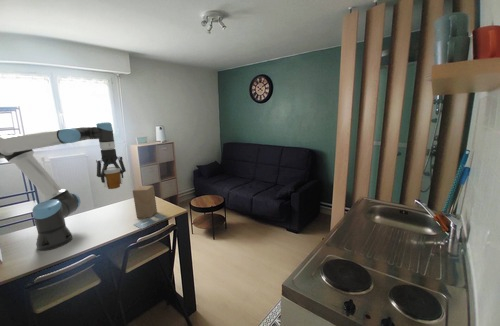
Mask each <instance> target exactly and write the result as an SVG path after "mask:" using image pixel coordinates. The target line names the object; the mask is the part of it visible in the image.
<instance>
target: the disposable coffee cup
mask: <svg viewBox="0 0 500 326" xmlns="http://www.w3.org/2000/svg"><path fill="white" fill-rule="evenodd" d="M120 168H121V167H120ZM120 168H116V167H115V166H112V167H109V166H108V167H107V170H104V173H105V176H104V177H106V181H107V187H108V188H107V189H108V190H115V189H119V188H120V187H121V184H120Z"/></svg>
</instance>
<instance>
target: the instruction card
mask: <svg viewBox="0 0 500 326" xmlns="http://www.w3.org/2000/svg"><path fill="white" fill-rule="evenodd" d="M165 219H168V217H166V216H164V215H162V214H160V213H158V214H154V215H153V216H152V217H150V218H146V219H145V218H144V220H141V221H139V222H136V223H133V226H134V227H136V228H139V229H140V230H143V229H145V228H147V227H149V226H152V225H154V224H155V225H156V224H157V223H159V222H162V221H163V220H165Z"/></svg>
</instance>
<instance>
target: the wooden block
mask: <svg viewBox="0 0 500 326" xmlns="http://www.w3.org/2000/svg"><path fill="white" fill-rule="evenodd" d="M155 193H156V192H155V186H154V185H140V186H138V187H136V188H134V189H133V190H132V195H133V202H134V209H135V215H136V218H137V219H142V218H143V219H145V218H146V219H148V218H150V217H153V216H155V215H156V213H157V212H158V209H157V202H156V194H155Z"/></svg>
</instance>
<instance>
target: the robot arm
mask: <svg viewBox="0 0 500 326" xmlns="http://www.w3.org/2000/svg"><path fill="white" fill-rule="evenodd" d="M113 129H114V128H113V125H112V123H111V122H107V121H106V122H96V125H88V126H87V125H86V126H85V125H81V126H74V127H65V128H62V129H61V128H60V129H54V130H48V131H46V130H45V131H41V132H34V133H28V134H17V133H10V134H3V135H0V159H5V160H6V161H7V163H10V164H14V165H16V166H17V168H18V169H19V170H20V171H21V172H22V173H23V174H24V176H25V177H26V178H28V180H29V181H30V182H31V183H32V185H34V186H35V188H36V189H38V190H39V192H40V193H41V194H42V195H43V196H44V197H45V200H44V201H41V202H39V203H37V204H36V205H34V206H33V208H32V216H33V219H34V223H35V227H36V231H37V238H36V243H35V246H36V249H37V250H38V251H48V250H54V249H57V248H59V247H62V246H64V245H66V244H67V243H69V242H71V240H72V239H73V234H72V232H71V230H69V228H68V227H67V226H66V219H65V218H67V217H68V216H70V215H71V214H72V213H75V212H76V211H77V210H78V209H79V207H80V206H81V199H80V197H79V196H78V194H76V193H75V192H70V191H69V190H68V189H67V188H62V187H61V186H60V184H58V183H57V180H55V179H54V178H53V176H52V175H51V174H50V173H49V172H48V171H47V170H46V168H45V167H44V166H43V164H41V163H40V162H39V161H38V159H37V158H36V157H35V156H34V153H35V151H34V150H35V149H42V148H47V147H54V146H59V145H67V144H73V143H77V142H82V141H86V140H98V142H99V148H100V155H101V158H100V159H96V160H95V163H96V177H97V178H100V180H101V183H102V184H103V187H104V188H105V189H108V187H107V181H106V177H104V176H105V173H104V170H107V168H109V166H110V165H113V167H116V168H120V185H123V184H124V182H123V179H124V173H126V171H127V170H126V167H125V165H124V161H123V157H122V156H118V155H117V149H116V144H115V137H114V130H113ZM117 160H118V163H119V164H118V163H117ZM102 163H103V167H102Z"/></svg>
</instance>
